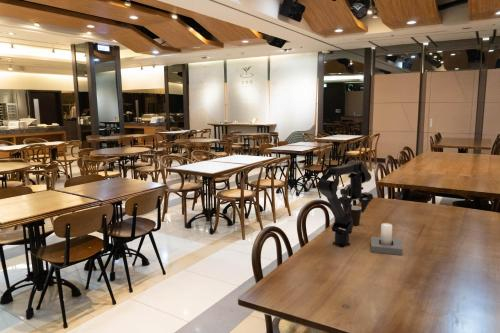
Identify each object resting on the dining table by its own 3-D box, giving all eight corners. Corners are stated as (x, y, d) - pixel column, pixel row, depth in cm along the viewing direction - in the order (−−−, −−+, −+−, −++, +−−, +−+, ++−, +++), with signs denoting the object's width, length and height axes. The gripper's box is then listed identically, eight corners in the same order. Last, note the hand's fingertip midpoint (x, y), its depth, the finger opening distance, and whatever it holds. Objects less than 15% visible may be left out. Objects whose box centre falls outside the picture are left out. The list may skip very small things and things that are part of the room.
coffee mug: (357, 227, 215) (358, 210, 214) (343, 224, 220) (344, 208, 219) (365, 222, 224) (365, 206, 223) (351, 219, 230) (351, 204, 228)
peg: (382, 250, 181) (383, 226, 180) (379, 246, 186) (380, 223, 184) (392, 250, 181) (393, 226, 179) (389, 246, 186) (390, 223, 184)
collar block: (370, 252, 179) (371, 246, 179) (371, 241, 193) (371, 236, 192) (402, 255, 175) (402, 249, 175) (400, 244, 188) (400, 238, 188)
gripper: (358, 179, 205) (358, 207, 208) (331, 184, 197) (331, 213, 199) (373, 183, 195) (373, 212, 198) (345, 189, 187) (345, 218, 190)
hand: (355, 214), depth 196 cm, fingers open, 9 cm apart
